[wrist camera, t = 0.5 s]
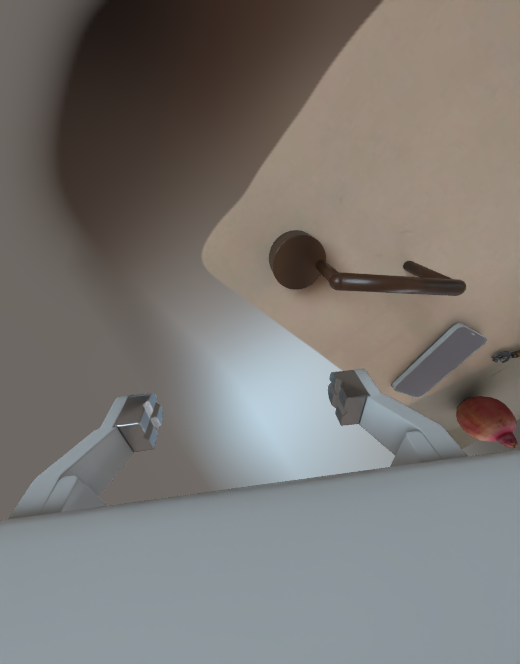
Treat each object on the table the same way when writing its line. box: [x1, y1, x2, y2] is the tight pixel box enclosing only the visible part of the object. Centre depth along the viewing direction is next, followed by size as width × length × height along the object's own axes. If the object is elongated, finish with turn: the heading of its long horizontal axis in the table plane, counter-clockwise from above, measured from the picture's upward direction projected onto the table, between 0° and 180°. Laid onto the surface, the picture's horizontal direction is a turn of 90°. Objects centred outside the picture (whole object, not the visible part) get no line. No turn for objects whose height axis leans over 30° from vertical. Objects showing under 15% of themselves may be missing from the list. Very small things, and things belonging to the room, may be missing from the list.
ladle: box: [269, 230, 466, 296], centre depth 25 cm, size 19×6×9 cm, turn 85°
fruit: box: [456, 396, 517, 448], centre depth 43 cm, size 8×8×10 cm
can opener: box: [491, 351, 520, 363], centre depth 41 cm, size 9×2×1 cm, turn 99°
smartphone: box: [392, 324, 487, 398], centre depth 40 cm, size 7×1×15 cm
